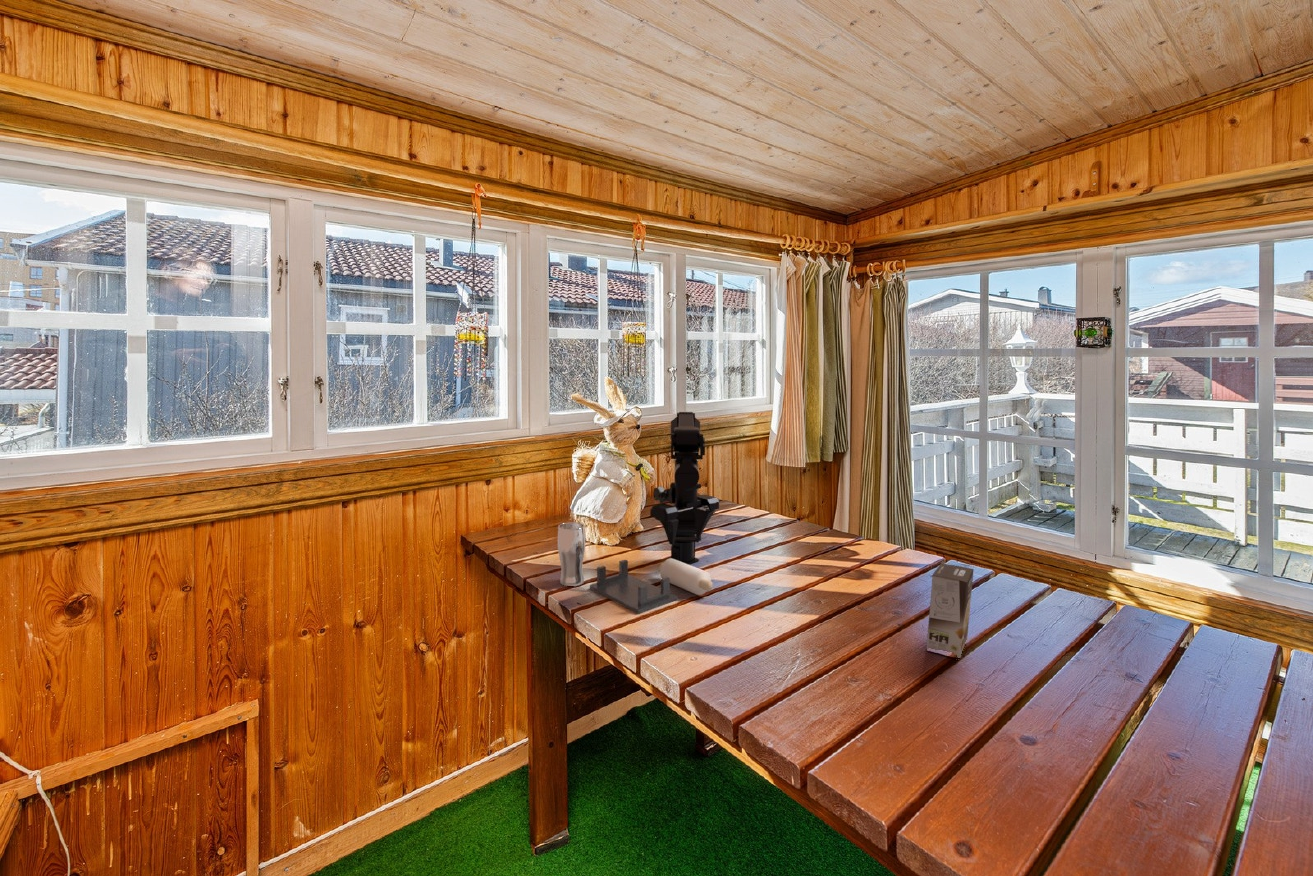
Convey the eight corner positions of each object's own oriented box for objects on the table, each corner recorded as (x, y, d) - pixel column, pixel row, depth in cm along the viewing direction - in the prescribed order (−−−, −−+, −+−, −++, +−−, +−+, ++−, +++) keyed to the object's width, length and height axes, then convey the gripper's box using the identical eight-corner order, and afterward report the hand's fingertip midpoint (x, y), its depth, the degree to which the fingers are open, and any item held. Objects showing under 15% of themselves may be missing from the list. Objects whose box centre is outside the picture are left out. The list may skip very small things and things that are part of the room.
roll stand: (627, 577, 159) (627, 557, 158) (676, 600, 145) (677, 578, 144) (589, 588, 151) (589, 567, 150) (638, 614, 137) (638, 590, 136)
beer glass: (580, 588, 151) (580, 530, 149) (554, 586, 153) (553, 528, 150) (589, 578, 158) (588, 522, 156) (563, 576, 159) (563, 521, 157)
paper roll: (653, 580, 157) (653, 558, 156) (670, 575, 161) (671, 553, 160) (700, 601, 145) (701, 577, 144) (717, 594, 149) (718, 571, 148)
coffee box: (960, 661, 118) (967, 582, 115) (925, 651, 121) (931, 575, 119) (967, 642, 125) (974, 568, 123) (934, 634, 129) (940, 561, 126)
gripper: (690, 469, 161) (689, 526, 163) (635, 479, 149) (635, 540, 151) (721, 476, 153) (719, 536, 155) (666, 487, 141) (665, 551, 143)
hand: (685, 540), depth 151 cm, fingers open, 9 cm apart
